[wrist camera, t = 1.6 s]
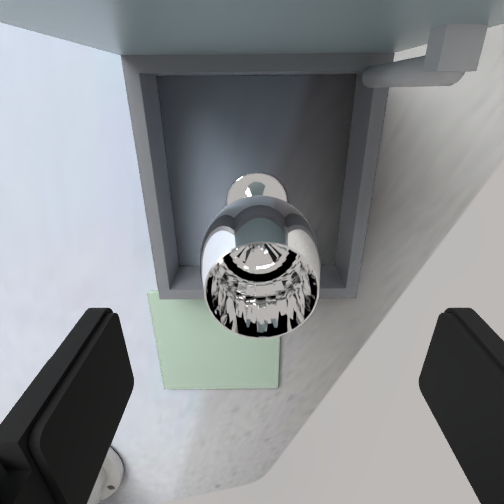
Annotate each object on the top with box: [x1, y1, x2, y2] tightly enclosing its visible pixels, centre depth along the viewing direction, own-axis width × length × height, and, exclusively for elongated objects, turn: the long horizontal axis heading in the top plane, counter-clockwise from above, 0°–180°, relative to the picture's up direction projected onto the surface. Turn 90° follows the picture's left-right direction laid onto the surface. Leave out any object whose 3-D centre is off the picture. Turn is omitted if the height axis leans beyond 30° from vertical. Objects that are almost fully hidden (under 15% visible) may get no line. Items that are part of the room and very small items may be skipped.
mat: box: [147, 291, 280, 389], centre depth 29 cm, size 11×11×1 cm
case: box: [0, 0, 504, 300], centre depth 15 cm, size 16×14×18 cm
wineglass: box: [199, 172, 321, 339], centre depth 19 cm, size 6×6×12 cm
